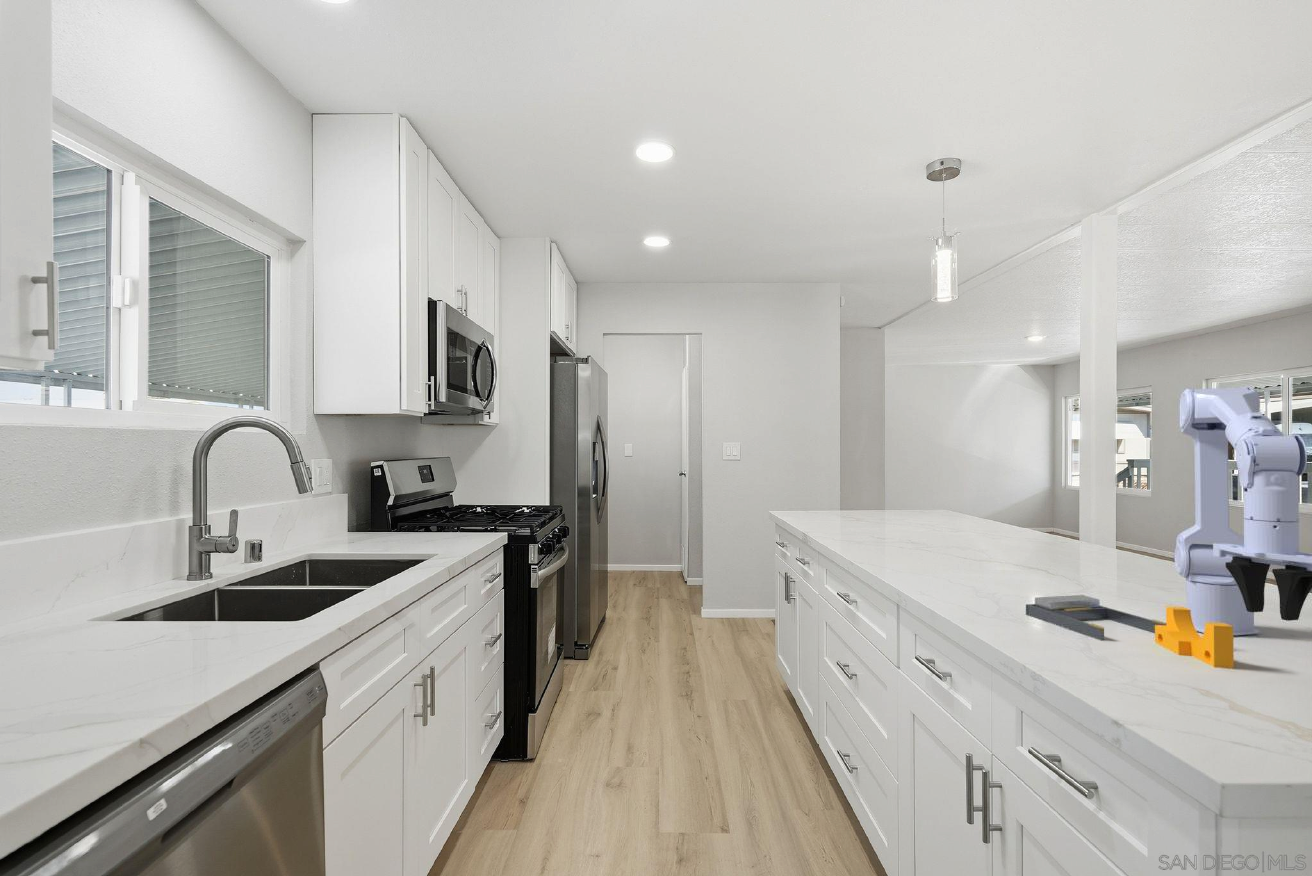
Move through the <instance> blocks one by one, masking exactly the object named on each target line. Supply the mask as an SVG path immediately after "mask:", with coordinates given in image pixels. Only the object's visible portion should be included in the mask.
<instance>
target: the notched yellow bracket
mask: <svg viewBox="0 0 1312 876" xmlns="http://www.w3.org/2000/svg"><path fill="white" fill-rule="evenodd" d="M1165 609H1166V611H1165V613H1166V615H1165V616H1166V617H1165V619H1166V622H1165V623H1166V625H1155V633H1154V643H1155V642H1156V643H1157V644H1156V643H1155V644H1156V645H1158V644H1159V645H1158V646H1160V645H1161V646H1160V647H1162V646H1163V647H1162V648H1164V649H1166V650H1168V649H1169V650H1168V651H1170V652H1172V651H1173V652H1172V653H1174V654H1176V655H1178V656H1188V655H1191V656H1190V657H1193V656H1194V657H1193V658H1195V659H1197V658H1198V659H1197V660H1198V661H1201V660H1202V661H1201V662H1202V663H1205V664H1207V665H1208V666H1211V665H1212V666H1211V667H1213V668H1218V667H1226V668H1225V669H1234V667H1235V664H1234V662H1235V661H1234V659H1235V658H1234V636H1233V626H1230V625H1228V624H1225V623H1209V622H1205V630H1204V633H1202V636H1201V635H1200V634H1199V633H1198V631H1196V629H1195V627H1194V625H1193V622H1192V618H1191V610H1190V609H1187V607H1185V606H1165Z"/></svg>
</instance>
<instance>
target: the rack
mask: <svg viewBox="0 0 1312 876" xmlns="http://www.w3.org/2000/svg"><path fill="white" fill-rule="evenodd" d="M1025 615H1027V616H1029V615H1030V616H1029V617H1032V618H1035V619H1036V620H1037V619H1038V620H1040V619H1041V621H1044V622H1045V623H1050V624H1052V623H1053V625H1055V624H1056V625H1055V626H1058V625H1059V627H1061V626H1063V627H1062V628H1064V629H1067V628H1068V630H1071V631H1073V630H1074V631H1073V632H1076V633H1078V634H1082V633H1083V634H1082V635H1085V636H1087V635H1088V637H1090V636H1091V638H1093V637H1094V639H1096V640H1099V639H1100V641H1105V627H1104V626H1101V625H1098V624H1095V623H1088V622H1085V621H1091V620H1090V619H1093V620H1103V619H1104V620H1105V619H1107V620H1109V621H1112V622H1113V621H1114V622H1117V623H1121V624H1124V625H1126V624H1127V626H1129V627H1130V626H1131V627H1134V628H1137V629H1140V630H1143V631H1146V632H1150V633H1153V634H1155V625H1166V622H1164V621H1161V620H1156V619H1149V618H1146V617H1143V616H1139V615H1134V614H1133V613H1127V612H1125V611H1121V610H1117V609H1114V608H1110V607H1108V606H1107V607H1106V606H1104V605H1100V599H1098V598H1095V597H1092V596H1087V595H1084V594H1079V595H1078V594H1077V595H1076V594H1075V595H1059V596H1058V595H1057V596H1042V597H1040V596H1039V597H1034V603H1030V604H1028V603H1026V604H1025Z"/></svg>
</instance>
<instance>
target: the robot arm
mask: <svg viewBox="0 0 1312 876" xmlns="http://www.w3.org/2000/svg"><path fill="white" fill-rule="evenodd" d="M1260 410H1261V399H1260V394H1259V392H1258V391H1257V390H1256V389H1255V388H1254V387H1252V386H1246V387H1228V388H1227V387H1224V388H1221V387H1220V388H1219V387H1218V388H1196V389H1195V388H1193V389H1192V388H1186V389H1184V391H1183V392H1182V393H1181V395H1180V399H1179V428H1180V431H1181V432H1180V433H1182V434H1184V435H1186V436H1189V437H1191V439H1192V443H1193V450H1194V504H1195V505H1194V509H1195V511H1194V512H1195V513H1194V514H1195V516H1194V517H1195V519H1194V520H1195V524H1194V525H1192V526H1191V527H1189V528H1187V529H1185V530H1183V531H1182V532H1180V533H1179V534H1178V535H1177V537H1176V541H1175V543H1176V544H1175V549H1174V566H1175V570H1176V572H1177V574H1179V575H1180V576H1181V578H1184V579H1185V580H1186V581H1185V582H1186V587H1185V588H1186V589H1185V590H1186V594H1185V595H1186V608H1187V609H1190V610H1191V618H1192V622H1193V625H1194V627H1195V629H1196V631H1197V633H1198V632H1199V633H1202V634H1204V630H1205V622H1209V623H1225V624H1228V625H1230V626H1233V637H1234V636H1244V635H1246V636H1248V635H1259V634H1260V630H1257V629H1255V613H1263V612H1264V608H1265V586H1266V580H1267V577H1268V573H1269V569H1270V567H1271V566H1278V567H1279V566H1280V567H1284V568H1271V569H1272V570H1271V571H1272V574H1273V577H1274V579H1275V582H1276V586H1277V590H1278V597H1279V613H1280V614H1279V615H1280V619H1281V620H1282V621H1288V622H1289V621H1299V619H1300V615H1301V611H1302V609H1303V606H1304V603H1305V601H1306V599H1307V598H1308V595H1309V594H1310V592H1311V590H1312V554H1310V553H1305V552H1300V505H1299V504H1300V503H1299V499H1300V498H1299V494H1300V493H1299V477H1300V476H1302V475H1303V474H1304V472H1305V470H1306V467H1307V462H1308V454H1307V453H1308V452H1307V446H1306V444H1305V441H1304V439H1303V438H1302V436H1301V435H1300V434H1289V435H1287V434H1284V433H1283V432H1282V431H1281V430H1280V429H1279V428H1278V426H1277V425H1275V422H1273V421H1272V420H1271V418H1269V417H1268V416H1266V415H1264V414H1263V413H1262V412H1260ZM1229 443H1230V445H1231V446H1232V447H1233V448H1234V450H1235V459H1236V460H1235V461H1236V466H1237V470H1238V479H1239V481H1238V482H1239V485H1240V487H1242V488H1243V489H1242V490H1243V536H1242V535H1241V534H1239V533H1238V532H1236V531H1234V530H1233V529H1231V528H1230V498H1229V497H1230V496H1229V493H1230V491H1229V490H1230V489H1229V488H1230V487H1229V486H1230V485H1229Z"/></svg>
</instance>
